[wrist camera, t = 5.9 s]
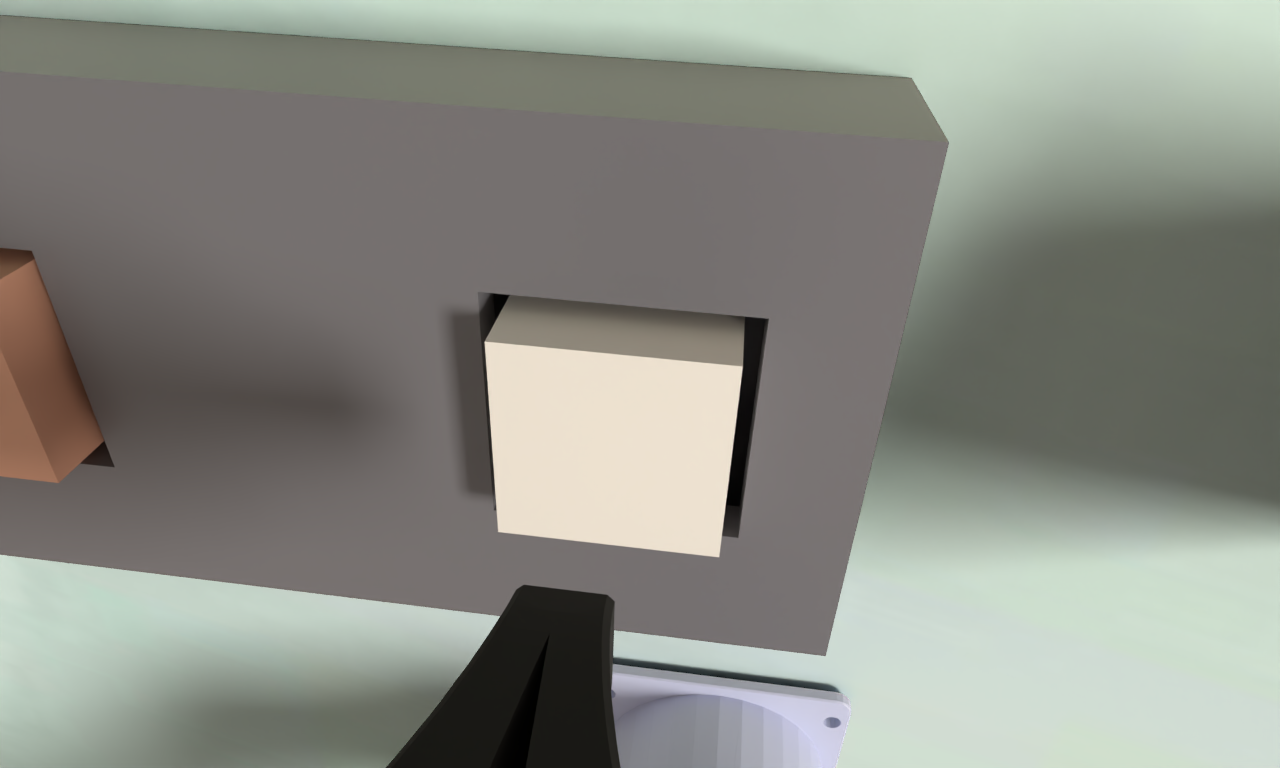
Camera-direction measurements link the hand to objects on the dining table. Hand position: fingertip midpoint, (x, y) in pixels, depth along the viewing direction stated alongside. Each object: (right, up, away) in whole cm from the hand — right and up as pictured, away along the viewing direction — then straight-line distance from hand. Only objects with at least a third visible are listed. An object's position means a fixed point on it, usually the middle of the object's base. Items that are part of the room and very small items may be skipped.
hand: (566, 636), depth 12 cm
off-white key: (+1, +4, +6) cm, 7 cm away
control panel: (-6, +6, +8) cm, 12 cm away
